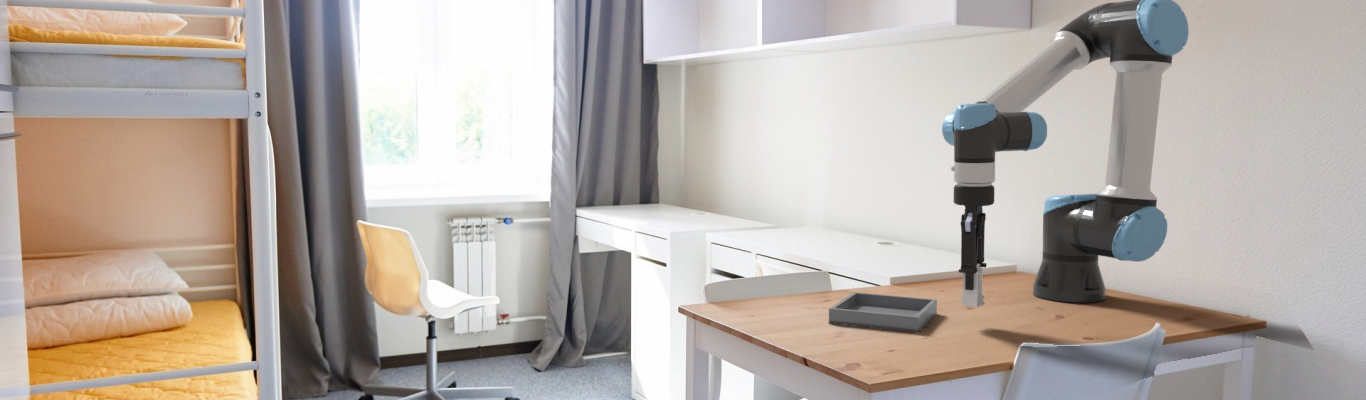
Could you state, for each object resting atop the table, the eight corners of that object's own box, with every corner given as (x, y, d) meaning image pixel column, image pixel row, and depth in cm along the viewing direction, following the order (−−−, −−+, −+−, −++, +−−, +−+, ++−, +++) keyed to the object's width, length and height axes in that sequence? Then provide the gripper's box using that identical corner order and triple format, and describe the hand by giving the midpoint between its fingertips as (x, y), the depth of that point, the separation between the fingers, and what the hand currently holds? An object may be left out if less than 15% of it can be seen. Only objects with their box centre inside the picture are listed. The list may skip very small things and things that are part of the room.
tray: (936, 313, 196) (936, 299, 195) (917, 332, 180) (918, 317, 180) (853, 305, 203) (854, 292, 203) (828, 323, 188) (829, 308, 187)
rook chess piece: (972, 308, 181) (973, 267, 180) (955, 303, 185) (956, 263, 184) (989, 305, 183) (990, 264, 182) (972, 301, 187) (973, 261, 186)
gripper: (962, 179, 190) (960, 292, 193) (945, 188, 175) (943, 311, 178) (1001, 180, 187) (998, 295, 190) (987, 189, 172) (985, 314, 174)
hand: (972, 302), depth 184 cm, fingers closed on rook chess piece, 4 cm apart
